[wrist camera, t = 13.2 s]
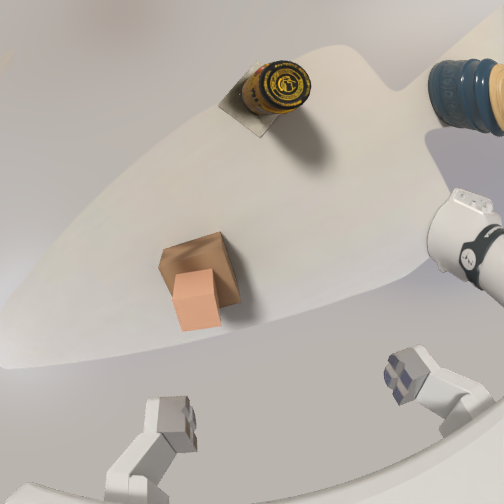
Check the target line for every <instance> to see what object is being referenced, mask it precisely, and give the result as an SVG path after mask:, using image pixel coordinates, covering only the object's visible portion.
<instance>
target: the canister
mask: <svg viewBox="0 0 504 504" xmlns="http://www.w3.org/2000/svg"><path fill="white" fill-rule="evenodd" d="M428 89H429V95H430V99H431V103H432V105H433V107H434V109H435V111H436V113H437V114H438V116H439V117H440V118H441V119H442V120H443V121H444V122H445V123H447V124H449V125H451V126H453V127H458V128H468V129H472V130H477V131H479V132H482V133H489V132H491V133H492V134H493V135H495V136H498V137H500V136H504V65H503V64H498V63H497V62H495V61H494V60H492V59H483V60H482V61H480V60H477V59H469V60H458V61H454V60H445V61H442V62H440V63H437V64H436V65H435V66H434V67H433V68H432V70H431V72H430V75H429V80H428Z"/></svg>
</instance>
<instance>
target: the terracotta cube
mask: <svg viewBox="0 0 504 504" xmlns="http://www.w3.org/2000/svg"><path fill="white" fill-rule="evenodd" d="M172 301H173V304H174V307H175V311H176V314H177V317H178V320H179V323H180V326H181V329H182V332H183V331H191V330H198V329H204V328H211V327H217V326H221V319H220V309H219V299H218V294H217V289H216V284H215V279H214V275H213V270H212V269H206V270H200V271H193V272H187V273H181V274H176V277H175V284H174V291H173V298H172Z"/></svg>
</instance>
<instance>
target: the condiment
mask: <svg viewBox="0 0 504 504" xmlns="http://www.w3.org/2000/svg"><path fill="white" fill-rule="evenodd" d="M310 89H311V81H310V79H309V76H308V74H307V73H306V71H305V70H304V69H303V68H302V67H301V66H299V65H298V64H296V63H293V62H291V61H282V60H281V61H276V62H272V63H269V64H265V65H263V64H261V63H260V62H259V61H257V62H256V63H255V64H254V65H253V66H252V67H251V68H250V69H249V70H248V72H246V73H245V75H244V76H243V77H242V78H241V79H240V80H239V81H238V82H237V84H236V85H235V86H234V87H233V88H232V89H231V90H230V92H229V93H228V94H227V95H226V97H225V98H224V99H223V100H222V101H221V102H220V104H219V105H218V106H219V107H220V108H221V109H223V110H224V111H226V112H227V113H228V114H230V115H231V116H232V117H234V118H235V119H236V120H238V121H239V122H240V123H242V124H243V125H244V126H246V127H247V128H248V129H250V130H251V131H252V132H254V133H255V134H256V135H257V136H259V137H261V136H262V135H263V134H264V132H265V131H266V130H267V129H268V128H269V126H270V125H271V124H272V123H273V122H274V120H275V119H276V118H277V117H278V116H279V114H285V113H288V112H291V111H293V110H295V109H296V108H297V107H299V106H300V105H303V103H304V102H305V101H306V100H307V99H308V97H309V95H310ZM239 94H240V95H239ZM256 116H258V117H257V118H256ZM259 116H260V117H259Z"/></svg>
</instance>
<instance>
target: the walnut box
mask: <svg viewBox="0 0 504 504" xmlns="http://www.w3.org/2000/svg"><path fill="white" fill-rule="evenodd" d="M158 268H159V270H160V272H161V275H162V277H163V279H164V281H165V283H166V285H167V287H168V289H169V291H170V293H171V295H172V297H173V291H174V284H175V277H176V274H181V273H187V272H193V271H200V270H206V269H212V270H213V275H214V279H215V284H216V289H217V294H218V299H219V308H222V307H225V306H229V305H232V304H236V303H239V302H241V299H240V294H239V289H238V284H237V280H236V277H235V274H234V271H233V268H232V265H231V262H230V259H229V256H228V254H227V251H226V248H225V245H224V242H223V239H222V236H221V233H220V232H217V233H214V234H211V235H207V236H204V237H201V238H198V239H195V240H191V241H188V242H185V243H182V244H179V245H176V246H172V247H169V248H166V249H164V250H163V253H162V257H161V260H160V264H159V267H158Z"/></svg>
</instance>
